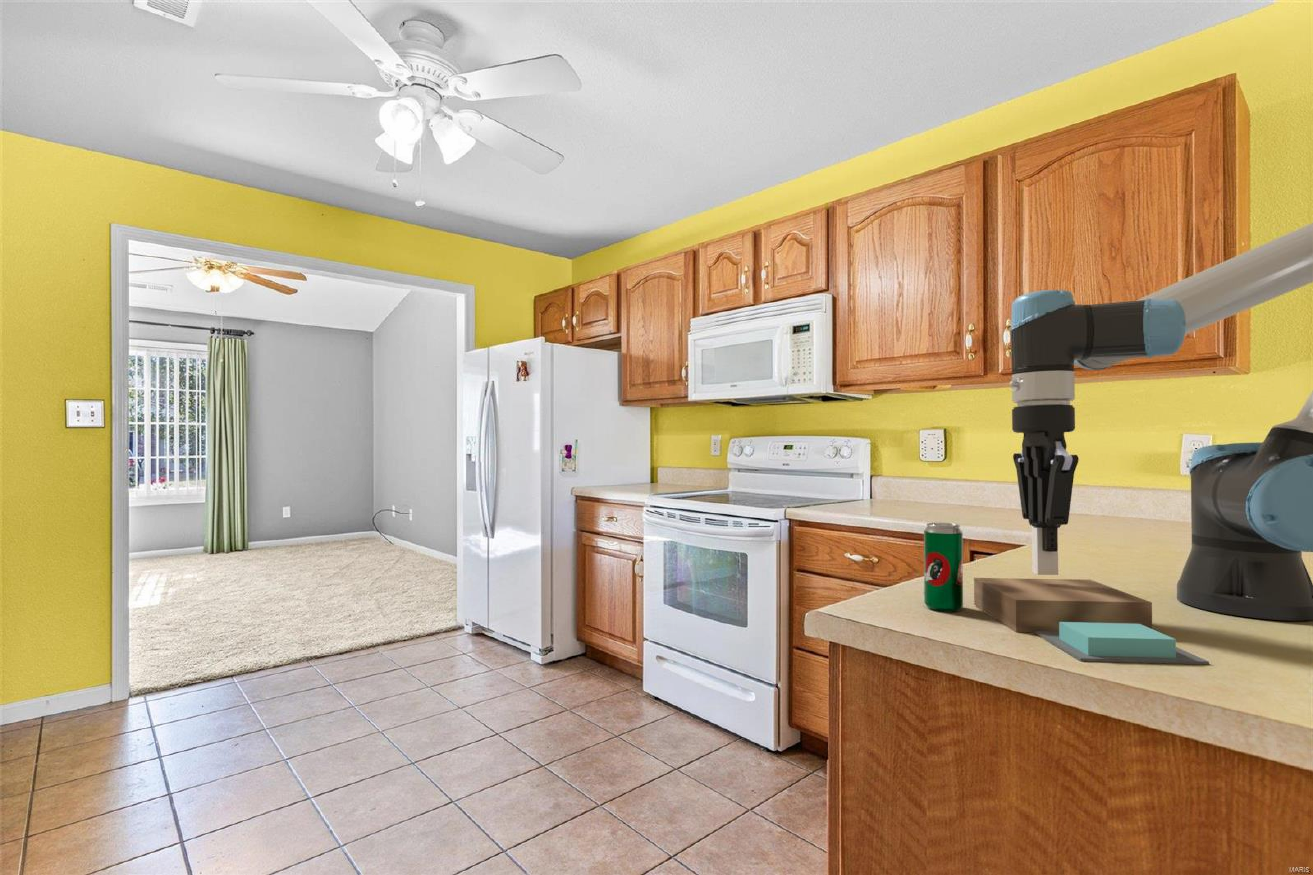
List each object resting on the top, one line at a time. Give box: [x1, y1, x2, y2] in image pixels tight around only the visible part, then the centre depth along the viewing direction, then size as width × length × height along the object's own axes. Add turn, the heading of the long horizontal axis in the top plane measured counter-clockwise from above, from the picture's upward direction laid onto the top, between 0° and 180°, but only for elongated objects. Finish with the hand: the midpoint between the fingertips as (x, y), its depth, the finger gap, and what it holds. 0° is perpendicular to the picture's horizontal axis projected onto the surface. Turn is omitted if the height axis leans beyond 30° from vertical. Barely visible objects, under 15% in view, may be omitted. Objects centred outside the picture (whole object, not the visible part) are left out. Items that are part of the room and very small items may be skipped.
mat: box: [1034, 631, 1210, 665], centre depth 74 cm, size 13×10×1 cm
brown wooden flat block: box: [973, 577, 1153, 633], centre depth 86 cm, size 16×13×4 cm
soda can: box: [923, 522, 964, 613], centre depth 92 cm, size 5×5×12 cm
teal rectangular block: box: [1059, 622, 1177, 658], centre depth 73 cm, size 9×6×2 cm, turn 85°
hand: (1045, 573), depth 89 cm, fingers closed
